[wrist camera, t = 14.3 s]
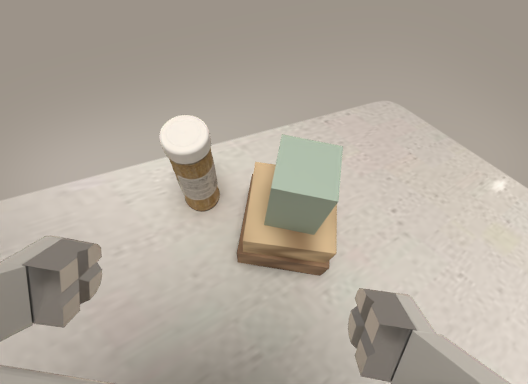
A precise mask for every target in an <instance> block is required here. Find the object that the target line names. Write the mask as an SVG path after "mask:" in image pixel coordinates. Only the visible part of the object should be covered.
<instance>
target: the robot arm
mask: <svg viewBox="0 0 528 384" xmlns="http://www.w3.org/2000/svg"><path fill="white" fill-rule="evenodd" d="M101 257H102V254H101V247H100V246H99V245H98V244H94V243H89V242H84V241H78V240H73V239H68V238H63V237H56V236H45V237H43V238H41V239H40V240H38V241H36V242H34V243H33V244H31V245H29V246H28V247H26V248H24V249H22V250H21V251H19V252H17V253H16V254H14V255H12V256H10V257H9V258H7V259H5V260H4V261H2V262H0V342H1V341H2V340H4V339H6V338H8V337H10V336H12V335H14V334H16V333H18V332H20V331H22V330H24V329H25V328H27V327H29V326H31V325H32V323H34V324H42V325H49V326H56V327H65V326H66V325H67V324H68V323H69V322H70V320H71V319H72V318H73V317H74V316H75V315H76V314H77V313H78V312H79V311H80V304H81V303H84V302H86V301H88V300H90V299H91V298H92V297H93V296H94V295H95V294H96V292H97V290H98V288H99V286H100V284H101V279H102V269H101V267H100V266H99V265H98V263H97V262H98V261H99V259H100V258H101ZM355 301H356V304H357V306H356V307H355V308H354V309H352V310H351V312H350V316H349V321H348V333H349V338H350V342H351V344H352V345H353V346H354V347H355V348H356V349H357V350H356V353H355V359H356V362H357V365H358V368H359V372H360V375H361V376H362V377H367V378H373V379H378V380H383V381H388V382H391V384H511V383H509V382H508V381H506V380H505V379H504V378H502V377H501V376H499V375H498V374H497V373H495V372H494V371H492V370H491V369H490V368H488V367H487V366H485V365H484V364H482V363H481V362H480V361H478V360H477V359H475V358H474V357H473V356H471V355H470V354H468V353H467V352H466V351H464V350H463V349H461V348H460V347H458V346H457V345H456V344H454V343H453V342H451V341H450V340H449V339H447V338H446V337H444V336H443V335H439V334H437V333H436V332H435V331H434V329H433V328H432V326H431V325H430V323H429V322H428V320H427V319H426V317H425V316H424V314H423V313H422V311H421V310H420V308H419V307H418V306H417V304H416V303H415V301H414V300H413V298H412V297H411V296H409V295H408V294H400V293H391V292H384V291H377V290H370V289H363V288H359V290H358V291H357V293H356V296H355ZM0 384H114V383H108V382H102V381H96V380H89V379H83V378H77V377H71V376H65V375H59V374H53V373H47V372H40V371H34V370H28V369H22V368H16V367H10V366H4V365H0Z"/></svg>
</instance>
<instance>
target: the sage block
mask: <svg viewBox="0 0 528 384" xmlns="http://www.w3.org/2000/svg"><path fill="white" fill-rule="evenodd" d="M342 151H343V146H339V145H334V144H328V143H323V142H318V141H313V140H308V139H303V138H298V137H293V136H288V135H283V134H282V137H281V142H280V147H279V152H278V157H277V162H276V166H275V171H274V176H273V181H272V186H271V191H270V196H269V201H268V207H267V212H266V217H265V222H264V225H267V226H272V227H277V228H282V229H287V230H292V231H297V232H302V233H307V234H312V235H314V234H315V233H316V232H317V230H318V229H319V228H320V226H321V225H322V223H323V222H324V221H325V219H326V218H327V217H328V215H329V214H330V212H331V211H332V210H333V208H334V207H335V206H336V204H337V203H338V200H339V188H340V176H341V163H342Z"/></svg>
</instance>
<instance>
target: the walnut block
mask: <svg viewBox="0 0 528 384" xmlns="http://www.w3.org/2000/svg"><path fill="white" fill-rule="evenodd" d="M252 180H253V174H252V178H251V183H250V188H249V193H248V198H247V204H246V209H245V214H244V219H243V224H242V230H241V235H240V240H239V245H238V250H237V259H238V262H239V263H246V264H252V265H258V266H264V267H270V268H277V269H283V270H289V271H295V272H301V273H307V274H314V275H321V274H323V273H324V272H325V271H326V270H328V269H329V261H328V262H327V263H320V262H313V261H305V260H298V259H291V258H283V257H276V256H269V255H261V254H254V253H247V252H243V236H244V230H245V224H246V218H247V212H248V205H249V199H250V193H251V187H252Z"/></svg>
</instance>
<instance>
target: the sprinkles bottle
mask: <svg viewBox="0 0 528 384" xmlns="http://www.w3.org/2000/svg"><path fill="white" fill-rule="evenodd" d="M159 135H160V136H159V139H160V143H161V146H162V148H163V150H164V153H165V154H166V156H167V157H168V158H169V160H170V162H171V164H172V167H173V170H174V172H175V174H176V177H177V180H178V183H179V185H180V187H181V190H182V192H183V193H184V195H185V200H186V202H187V204H188V205H189V206H190V207H191V208H193V209H195V210H199V211H204V210H209V209H210V208H212V207H213V206H215V205H216V203H217V202H218V200H219V194H220V193H219V189H218V187H217V178H216V172H215V167H214V161H213V157H212V153H211V138H210V133H209V130H208V127H207V125H206V124H205V123H204V122H203V121H202V120H201V119H199V118H197V117H195V116H190V115H181V116H177V117H174V118H172V119H170V120H169V121H167V122H166V123H165V124H164V125H163V127H162V129H161V131H160V134H159Z"/></svg>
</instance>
